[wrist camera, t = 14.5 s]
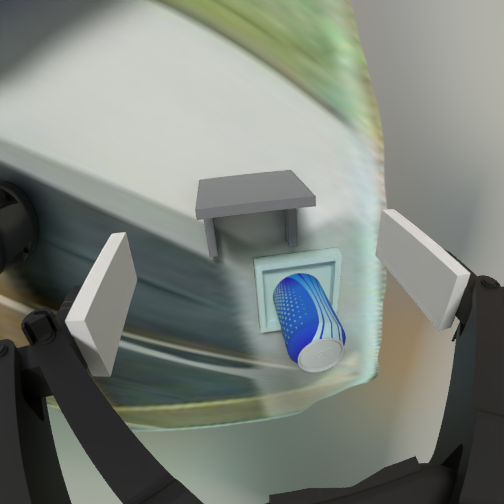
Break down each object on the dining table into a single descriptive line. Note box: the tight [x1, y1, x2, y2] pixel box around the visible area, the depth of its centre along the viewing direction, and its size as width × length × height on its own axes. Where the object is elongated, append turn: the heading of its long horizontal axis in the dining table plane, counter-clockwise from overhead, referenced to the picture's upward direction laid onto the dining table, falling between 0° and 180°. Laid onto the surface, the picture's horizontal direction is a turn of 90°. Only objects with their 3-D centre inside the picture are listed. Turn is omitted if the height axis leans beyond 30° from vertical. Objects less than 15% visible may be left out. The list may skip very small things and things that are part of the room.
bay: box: [195, 170, 316, 257], centre depth 42 cm, size 13×11×12 cm
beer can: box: [273, 273, 346, 372], centre depth 48 cm, size 8×8×16 cm
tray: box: [253, 247, 342, 333], centre depth 54 cm, size 14×14×2 cm
